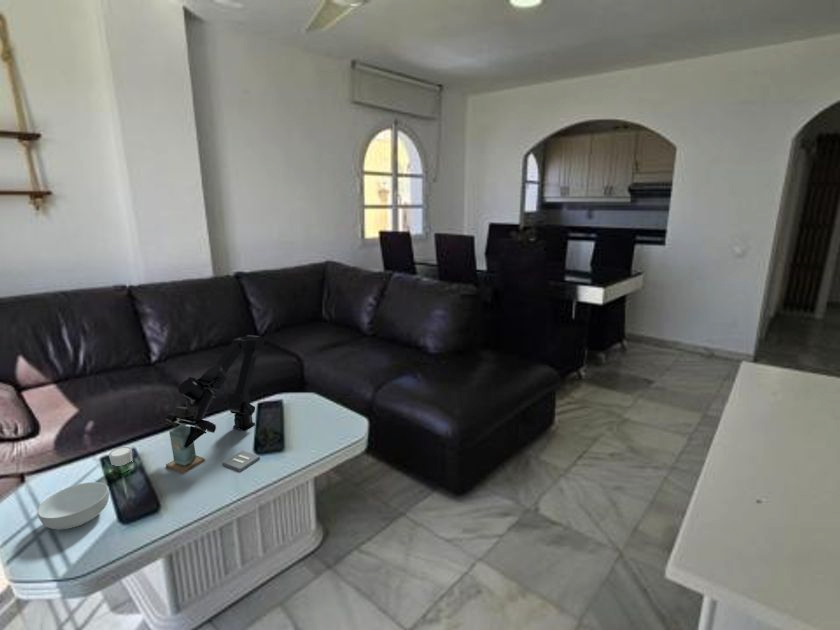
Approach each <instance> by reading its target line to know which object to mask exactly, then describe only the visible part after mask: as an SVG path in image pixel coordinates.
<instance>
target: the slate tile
mask: <svg viewBox="0 0 840 630" xmlns="http://www.w3.org/2000/svg"><path fill="white" fill-rule="evenodd" d="M258 459H259V460H261V456H260V455H257V454H254V453H251V452H248V451H245V450H240V451H239V452H236V453H235V454H234V455H231V457H228V459H226V460H224V461H222V465H223V466H225V467H227V468H230V469H233V470H236V471H238V470H239V472H242V471H243V470H245V469H246V467H247V468H248V467H249V465H250V466H251V465H253V464H254V463H255V461H256V462H257V461H259V460H258ZM252 463H253V464H252Z"/></svg>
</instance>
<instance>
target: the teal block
mask: <svg viewBox="0 0 840 630" xmlns="http://www.w3.org/2000/svg"><path fill="white" fill-rule="evenodd" d="M190 432H191V430H190V425H185V426H184V425H180V426H178V427H176V428H174V427H173V429H171V430H169V432H168V433H169V437H170V443H171V444H170V445H171V451H172V456H173V460H174V463H177V464H181V465H187V464H188V463H190V462H191V461H193V460H194V459H196V455H197V453H196V446H195V441H194V442H193V443H192V444H191V445H189V446H188V447H187V448H185V447H184V446H185V443H186V441H187V438H188V436H189V434H190Z"/></svg>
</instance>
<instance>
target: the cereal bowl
mask: <svg viewBox="0 0 840 630" xmlns="http://www.w3.org/2000/svg"><path fill="white" fill-rule="evenodd" d="M109 497H110V491H109V487H108V486H107V484H104V483H102V482H99V481H97V482H95V481H92V482H84V483H79V484H74V485H72V486H68V487H66V488H64V489H62V490H60V491H58V492H55V493H54V494H52V495H51V496H49V497H48V498H46V499H45V500H44V501H43V502H41V504H40V505H39V506H38V508H37V516H38V519H39V521H40V523H42V525H43V526H45V527H46V528H49V529H53V530H65V529H66V530H67V529H71V528H72V527H73V528H76V526H77V527H79V525H80V526H82V524H83V525H84V523H85V524H87V523H88V522H89V521H92V520H93V519H94V518H96V517H97V516H99V514H100V513H102V511H103V510H104V509H105V508H106V506H107V504H108V502H109Z"/></svg>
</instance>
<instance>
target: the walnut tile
mask: <svg viewBox="0 0 840 630" xmlns="http://www.w3.org/2000/svg"><path fill="white" fill-rule="evenodd" d="M205 461H206V459H205V457H202V456H199V455H197V454H196V459H194V460H193V461H191V462H190V463H188V464H187V465H181V464H177V463H174V459H173V460H171V461H170V462H168V463H166V464H165V467H166V468H167V469H170V470H173V471H174V472H178V473H179V474H185V473H187V472H188V471H190V470H191V469H194V468H195V467H197V466H199V465H201V464H202V463H204V462H205Z"/></svg>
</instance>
